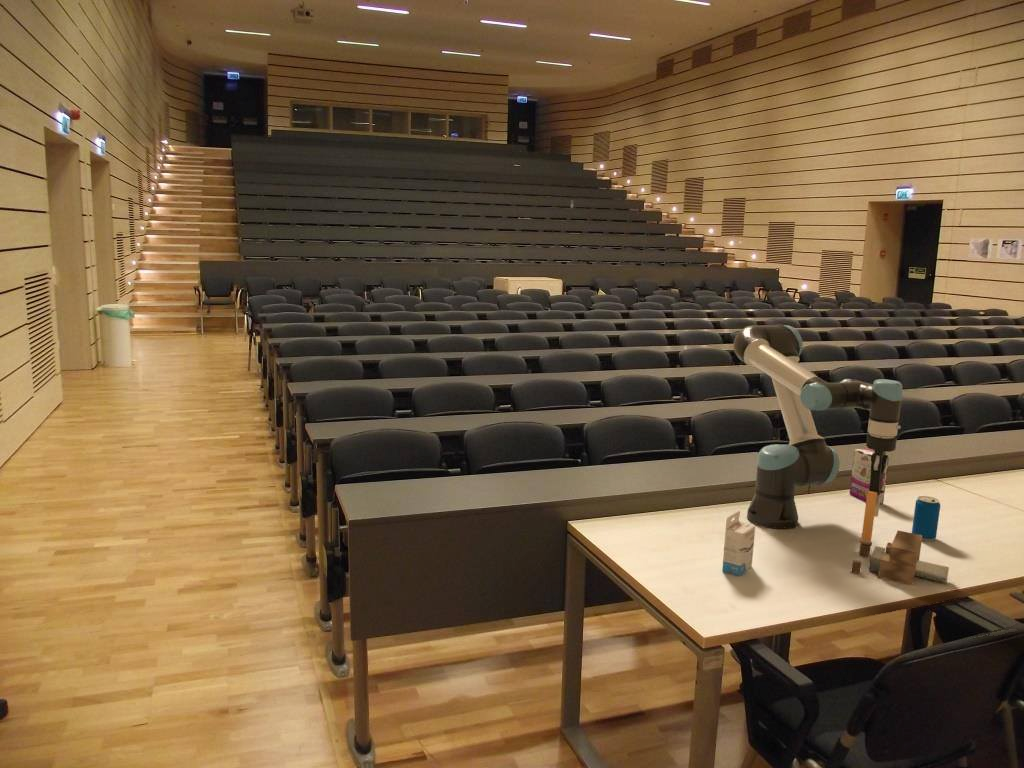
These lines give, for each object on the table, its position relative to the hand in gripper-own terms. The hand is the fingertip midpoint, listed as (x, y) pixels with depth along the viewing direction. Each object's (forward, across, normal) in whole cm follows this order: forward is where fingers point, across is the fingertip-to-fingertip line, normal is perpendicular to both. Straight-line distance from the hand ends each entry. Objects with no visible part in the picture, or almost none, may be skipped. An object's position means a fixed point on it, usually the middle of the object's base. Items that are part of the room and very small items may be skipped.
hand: (872, 515), depth 222 cm
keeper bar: (-1, -8, 0) cm, 8 cm away
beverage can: (+10, +17, -13) cm, 23 cm away
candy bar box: (+10, +45, +7) cm, 47 cm away
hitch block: (+9, -14, -6) cm, 18 cm away
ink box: (+10, -38, +27) cm, 48 cm away
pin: (+9, -15, -13) cm, 22 cm away
